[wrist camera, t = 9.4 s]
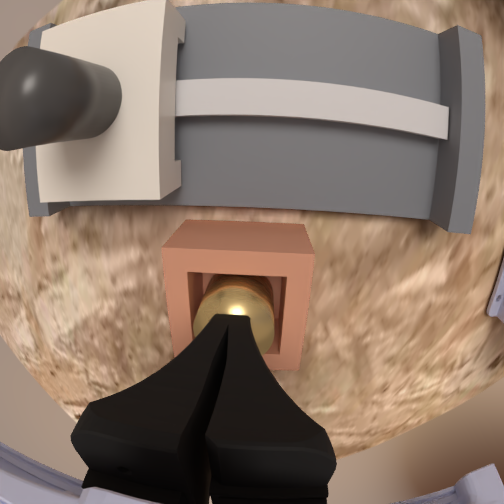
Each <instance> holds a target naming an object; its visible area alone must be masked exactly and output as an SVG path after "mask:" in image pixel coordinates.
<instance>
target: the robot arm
mask: <svg viewBox="0 0 504 504" xmlns="http://www.w3.org/2000/svg"><path fill="white" fill-rule="evenodd" d="M487 314H488V315H489V316H491V317H493V316H497V317H498V318H499V319H500V320H501V321H502V322H503V323H504V258H503V262H502V265H501V269H500V272H499V275H498V278H497V282H496V285H495V288H494V291H493V294H492V296H491V299H490V302H489V305H488V308H487ZM250 319H251V318H250V317H249V316H248V315H230V314H215V315H214V316H213V317H212V318H211V319H210V321H209V322H208V323H207V325H206V326H205V327H204V328H203V329H202V331H201V332H200V333H199V334H198V335H197V336H196V337H195V338H194V340H193V341H192V342H191V343H190V344H189V345H188V346H187V347H186V348H185V349H184V350H183V351H182V352H180V353H179V354H178V355H177V356H176V357H175V358H174V359H173V360H172V361H170V362H169V363H168V364H167V365H165V366H164V367H163V368H161V369H160V370H158V371H157V372H155V373H154V374H152V375H151V376H149V377H147V378H146V379H144V380H143V381H141V382H139V383H137V384H135V385H133V386H131V387H129V388H127V389H125V390H123V391H121V392H118V393H116V394H113V395H111V396H108V397H105V398H102V399H99V400H96V401H93V402H90V403H89V404H88V406H87V407H86V409H85V410H84V412H83V413H82V415H81V417H80V419H79V420H78V422H77V424H76V426H75V428H74V430H73V432H72V434H71V442H72V444H73V446H74V448H75V450H76V451H77V452H78V454H79V455H80V457H81V458H82V459H83V461H84V462H85V463H86V465H87V466H88V467H89V469H88V471H87V474H86V476H85V479H84V481H82V480H79V479H76V478H74V477H71V476H69V475H66V474H64V473H62V472H59V471H57V470H55V469H52V468H50V467H48V466H46V465H44V464H41V463H39V462H37V461H35V460H33V459H31V458H29V457H27V456H25V455H23V454H21V453H19V452H18V451H16V450H14V449H12V448H10V447H9V446H7V445H5V444H3V443H2V442H0V504H209V497H210V496H211V500H212V504H327V499H326V498H327V497H328V485H327V484H328V482H329V481H330V479H331V477H332V475H333V473H334V471H335V469H336V465H337V463H336V457H335V453H334V450H333V447H332V444H331V442H330V439H329V437H328V435H327V433H326V431H325V429H324V428H323V427H321V426H320V425H319V424H317V423H316V422H315V421H314V420H312V419H311V418H310V417H309V416H308V415H307V414H306V413H305V412H303V411H302V410H301V409H300V408H299V407H298V406H297V405H296V404H295V402H294V401H293V400H292V399H291V398H290V397H289V396H288V395H287V393H286V392H285V391H284V390H283V389H282V387H281V386H280V385H279V383H278V382H277V381H276V379H275V378H274V376H273V375H272V373H271V372H270V370H269V368H268V366H267V365H266V363H265V361H264V359H263V357H262V355H261V353H260V351H259V348H258V346H257V344H256V341H255V338H254V335H253V332H252V328H251V322H250ZM391 504H504V486H503V483H502V481H501V479H500V476H499V474H498V472H497V469H496V467H495V465H494V464H489V465H487V466H484V467H482V468H480V469H477V470H474V471H472V472H470V473H468V474H466V475H465V476H463V477H462V478H461V479H460V480H459V481H458V482H457V483H456V484H455V486H452V487H449V488H446V489H443V490H440V491H437V492H434V493H430V494H427V495H423V496H420V497H416V498H412V499H408V500H404V501H400V502H395V503H391Z"/></svg>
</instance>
